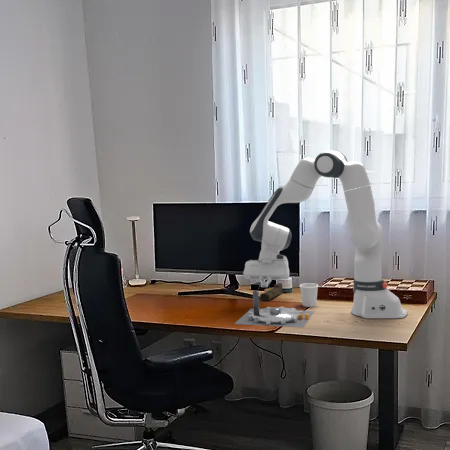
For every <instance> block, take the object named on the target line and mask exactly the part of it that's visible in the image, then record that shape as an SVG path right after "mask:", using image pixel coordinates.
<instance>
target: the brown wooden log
mask: <svg viewBox="0 0 450 450" xmlns="http://www.w3.org/2000/svg"><path fill="white" fill-rule="evenodd" d="M282 294H283V283H282V282H278V283H276V284H274V285H273V287H272V288H271V289H268V290H267V291H265V292H263V293H259V302H263V303H266V302H271V301H270V300H272V299H274V298H275V297H277V296H281V295H282Z"/></svg>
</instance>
